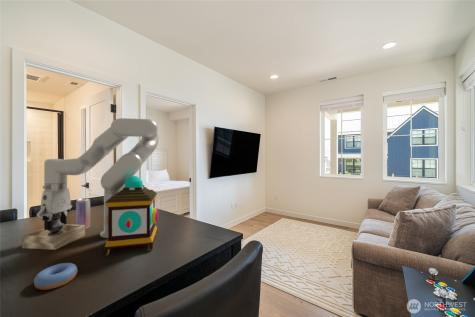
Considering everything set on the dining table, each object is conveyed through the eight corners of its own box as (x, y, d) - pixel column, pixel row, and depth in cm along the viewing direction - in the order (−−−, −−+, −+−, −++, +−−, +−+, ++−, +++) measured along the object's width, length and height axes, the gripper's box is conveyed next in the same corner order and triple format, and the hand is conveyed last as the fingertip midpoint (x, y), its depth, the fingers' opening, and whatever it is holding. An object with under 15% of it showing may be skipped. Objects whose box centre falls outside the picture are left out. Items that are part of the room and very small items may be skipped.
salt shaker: (53, 236, 86) (53, 208, 86) (42, 235, 88) (42, 207, 87) (67, 231, 92) (67, 205, 92) (57, 230, 93) (57, 204, 93)
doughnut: (28, 296, 55) (31, 278, 55) (36, 280, 63) (38, 264, 63) (75, 286, 60) (77, 270, 61) (77, 272, 69) (79, 258, 69)
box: (84, 235, 97) (84, 225, 97) (55, 249, 82) (55, 237, 82) (56, 234, 98) (56, 224, 98) (22, 248, 83) (22, 236, 83)
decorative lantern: (98, 258, 75) (98, 178, 75) (115, 237, 94) (115, 173, 94) (155, 252, 81) (155, 177, 80) (160, 233, 100) (160, 173, 99)
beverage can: (78, 230, 103) (78, 201, 103) (74, 227, 106) (74, 199, 106) (92, 227, 108) (91, 199, 107) (88, 224, 111) (88, 197, 111)
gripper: (44, 190, 81) (43, 235, 81) (80, 184, 98) (80, 221, 98) (26, 189, 81) (26, 234, 81) (65, 183, 98) (65, 220, 99)
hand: (55, 226), depth 90 cm, fingers closed on salt shaker, 5 cm apart
